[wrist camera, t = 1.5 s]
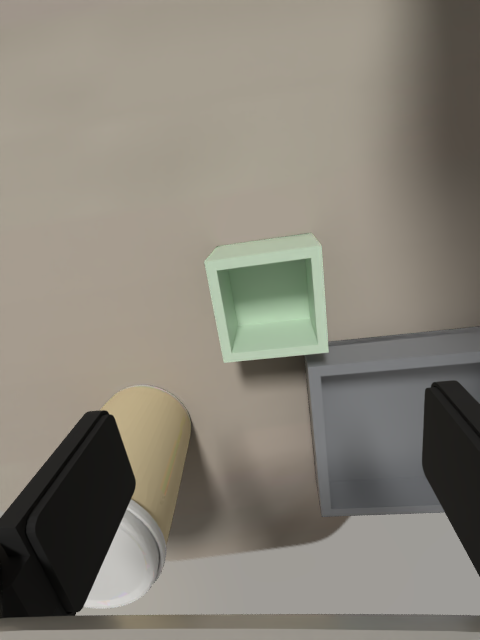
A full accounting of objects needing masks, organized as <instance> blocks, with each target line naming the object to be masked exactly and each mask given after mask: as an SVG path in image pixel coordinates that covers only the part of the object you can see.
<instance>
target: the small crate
mask: <svg viewBox="0 0 480 640" xmlns="http://www.w3.org/2000/svg"><path fill="white" fill-rule="evenodd" d="M204 263H205V268H206V273H207V278H208V284H209V289H210V294H211V299H212V304H213V309H214V315H215V320H216V325H217V330H218V335H219V340H220V346H221V351H222V356H223V361H224V363H226V362H237V361H247V360H257V359H267V358H278V357H288V356H298V355H308V354H318V353H329V349H328V334H327V319H326V304H325V290H324V275H323V260H322V245H321V244H320V243H319V242H318V240H317V239H316V238H315V237H314V236H313V234H312V233H306V234H299V235H292V236H285V237H278V238H271V239H264V240H257V241H250V242H244V243H237V244H230V245H223V246H217V247H216V248H215V249H214V251H213V252H212V253H211V254H210V255H209V257H208V258H207V259H206V260H205V261H204Z"/></svg>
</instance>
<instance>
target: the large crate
mask: <svg viewBox="0 0 480 640" xmlns="http://www.w3.org/2000/svg"><path fill="white" fill-rule="evenodd" d="M328 349H329V353H318V354H308V355H304V359H305V369H306V380H307V390H308V400H309V411H310V421H311V431H312V442H313V452H314V462H315V473H316V483H317V489H318V495H319V502H320V508H321V515H322V517H329V516H355V515H385V514H411V513H440V512H445V511H444V510H443V508H442V506H441V504H440V502H439V500H438V499H437V497H436V495H435V493H434V491H433V489H432V487H431V486H430V484H429V482H428V480H427V478H426V476H425V474H424V471H423V467H422V446H423V423H424V399H425V389H426V388H430V387H431V385H432V383H433V382H439V381H450V380H456V381H458V382H459V383H460V384H461V385H462V386H463V387H464V388H465V389H466V390H467V391H468V392H469V393H470V394H471V395H472V396H473V397H474V398H475V400H476V401H477V402H478V403H479V404H480V326H478V327H469V328H459V329H449V330H439V331H429V332H420V333H410V334H400V335H390V336H380V337H371V338H361V339H351V340H341V341H331V342H328Z"/></svg>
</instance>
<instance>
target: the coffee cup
mask: <svg viewBox="0 0 480 640" xmlns="http://www.w3.org/2000/svg"><path fill="white" fill-rule="evenodd" d="M102 410H106V411H107V412H108V413H109V414H111V415H113V416H114V418H115V420H116V423H117V426H118V429H119V432H120V435H121V438H122V441H123V444H124V447H125V450H126V453H127V456H128V459H129V462H130V464H131V467H132V470H133V473H134V476H135V480H136V487H135V491H134V494H133V496H132V498H131V500H130V503H129V505H128V507H127V510H126V512H125V514H124V516H123V519H122V521H121V523H120V525H119V528H118V530H117V532H116V534H115V537H114V539H113V541H112V543H111V546H110V548H109V550H108V553H107V555H106V557H105V559H104V562H103V564H102V566H101V568H100V571H99V573H98V575H97V577H96V580H95V582H94V584H93V587H92V589H91V591H90V593H89V596H88V598H87V600H86V602H85V604H84V606H83V607H87V608H113V607H120V606H124V605H127V604H130V603H132V602H134V601H136V600H138V599H139V598H141V597H142V596H143V595H144V594H146V593H147V591H148V590H149V589H150V588H151V586H152V584H153V583H155V581H156V580H157V579H158V578H159V576H160V574H161V572H162V569H163V566H164V563H165V557H166V544H167V540H168V536H169V532H170V528H171V523H172V519H173V515H174V510H175V506H176V501H177V496H178V492H179V487H180V482H181V478H182V473H183V468H184V463H185V459H186V454H187V449H188V445H189V439H190V434H191V420H190V416H189V414H188V412H187V409H186V408H185V407H184V405H183V404H182V402H181V401H180V400H179V399H177V398H176V397H175V396H174V395H172V394H171V393H169V392H168V391H166V390H163V389H161V388H158V387H154V386H149V385H135V386H130V387H127V388H124V389H122V390H121V391H119V392H117V393H116V394H115V395H114V396H113V397H112V398H111V399H110V400H109V401H108V402H107V403H106V404H105V405H104V406H103V407H102V408H101V410H100V411H102Z"/></svg>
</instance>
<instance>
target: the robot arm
mask: <svg viewBox="0 0 480 640" xmlns="http://www.w3.org/2000/svg"><path fill="white" fill-rule="evenodd" d="M422 467H423V471H424V474H425V476H426V478H427V480H428V482H429V484H430V486H431V487H432V489H433V491H434V493H435V495H436V497H437V499H438V500H439V502H440V504H441V506H442V508H443V510H444V511H445V513H446V515H447V517H448V519H449V521H450V522H451V524H452V526H453V528H454V530H455V532H456V533H457V536H458V537H459V539H460V541H461V543H462V545H463V547H464V548H465V550H466V552H467V554H468V556H469V558H470V560H471V561H472V563H473V565H474V567H475V569H476V571H477V573H478V574H479V576H480V404H479V403H478V402H477V401H476V400H475V398H474V397H473V396H472V395H471V394H470V393H469V392H468V391H467V390H466V389H465V388H464V387H463V386H462V385H461V384H460V383H459V382H458V381H456V380H450V381H439V382H433V383H432V385H431V387H430V388H426V389H425V399H424V423H423V446H422ZM135 487H136V480H135V476H134V473H133V470H132V467H131V464H130V462H129V459H128V456H127V453H126V450H125V447H124V444H123V441H122V438H121V435H120V432H119V429H118V426H117V423H116V420H115V418H114V416H113V415H111V414H109V413H108V412H107V411H106V410H102V411H90V412H87V413H85V414H84V416H83V417H82V418H81V419H80V420H79V422H78V423H77V424H76V425H75V427H74V428H73V429H72V430H71V432H70V433H69V434H68V435H67V437H66V438H65V439H64V440H63V441H62V443H61V444H60V445H59V446H58V448H57V449H56V450H55V451H54V453H53V454H52V455H51V456H50V458H49V459H48V460H47V461H46V462H45V464H44V465H43V466H42V467H41V469H40V470H39V471H38V472H37V474H36V475H35V476H34V477H33V478H32V480H31V481H30V482H29V483H28V485H27V486H26V487H25V488H24V490H23V491H22V492H21V493H20V495H19V496H18V497H17V498H16V499H15V501H14V502H13V503H12V504H11V506H10V507H9V508H8V509H7V511H6V512H5V513H4V514H3V516H2V517H1V518H0V640H480V616H471V615H394V614H393V615H391V614H390V615H389V614H387V615H386V614H385V615H381V614H379V615H378V614H376V615H375V614H373V615H372V614H371V615H369V614H356V615H355V614H343V615H342V614H257V615H256V614H254V615H253V614H250V615H249V614H247V615H246V614H245V615H243V614H232V615H107V616H105V615H104V616H75V614H76V612H79V611H80V610H81V609H82V608H83V606H84V604H85V602H86V600H87V598H88V596H89V593H90V591H91V589H92V587H93V584H94V582H95V580H96V577H97V575H98V573H99V571H100V568H101V566H102V564H103V562H104V559H105V557H106V555H107V553H108V550H109V548H110V546H111V543H112V541H113V539H114V537H115V534H116V532H117V530H118V528H119V525H120V523H121V521H122V519H123V516H124V514H125V512H126V510H127V507H128V505H129V503H130V500H131V498H132V496H133V494H134V491H135Z"/></svg>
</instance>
